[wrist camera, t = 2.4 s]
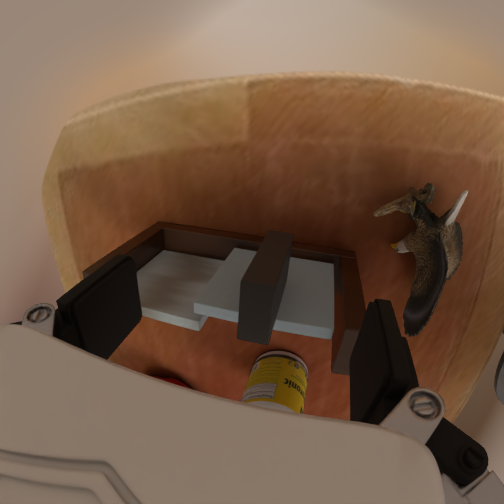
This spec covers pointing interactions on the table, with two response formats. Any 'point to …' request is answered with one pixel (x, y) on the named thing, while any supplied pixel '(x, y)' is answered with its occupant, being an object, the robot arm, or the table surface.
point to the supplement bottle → (277, 382)
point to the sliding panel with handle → (271, 292)
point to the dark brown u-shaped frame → (206, 265)
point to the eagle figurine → (427, 252)
